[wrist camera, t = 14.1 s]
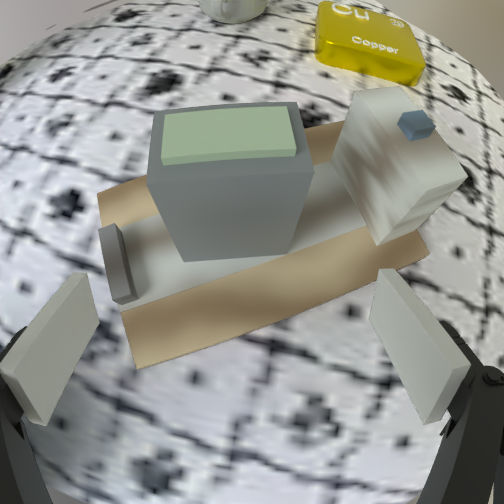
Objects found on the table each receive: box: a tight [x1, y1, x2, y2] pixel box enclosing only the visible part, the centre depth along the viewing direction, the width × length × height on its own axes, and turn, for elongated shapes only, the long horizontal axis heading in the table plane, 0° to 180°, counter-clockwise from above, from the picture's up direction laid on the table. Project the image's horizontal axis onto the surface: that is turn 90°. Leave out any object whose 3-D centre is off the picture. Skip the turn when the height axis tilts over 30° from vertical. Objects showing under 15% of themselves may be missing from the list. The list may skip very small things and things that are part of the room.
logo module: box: [146, 102, 314, 262], centre depth 21 cm, size 5×8×12 cm, turn 95°
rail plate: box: [97, 86, 468, 369], centre depth 22 cm, size 16×26×11 cm, turn 111°
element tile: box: [315, 1, 426, 87], centre depth 37 cm, size 15×15×5 cm
